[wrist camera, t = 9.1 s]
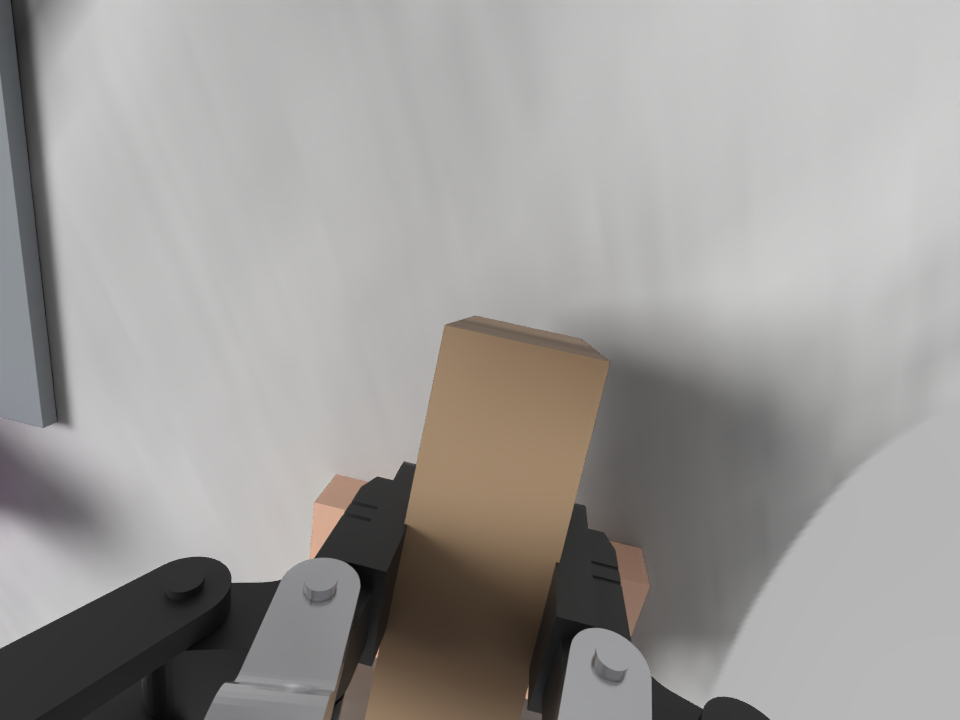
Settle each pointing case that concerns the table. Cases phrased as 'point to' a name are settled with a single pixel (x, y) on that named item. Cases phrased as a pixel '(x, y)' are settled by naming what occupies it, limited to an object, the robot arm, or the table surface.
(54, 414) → the mat
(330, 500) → the tile
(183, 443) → the table surface
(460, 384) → the upright plank on base
